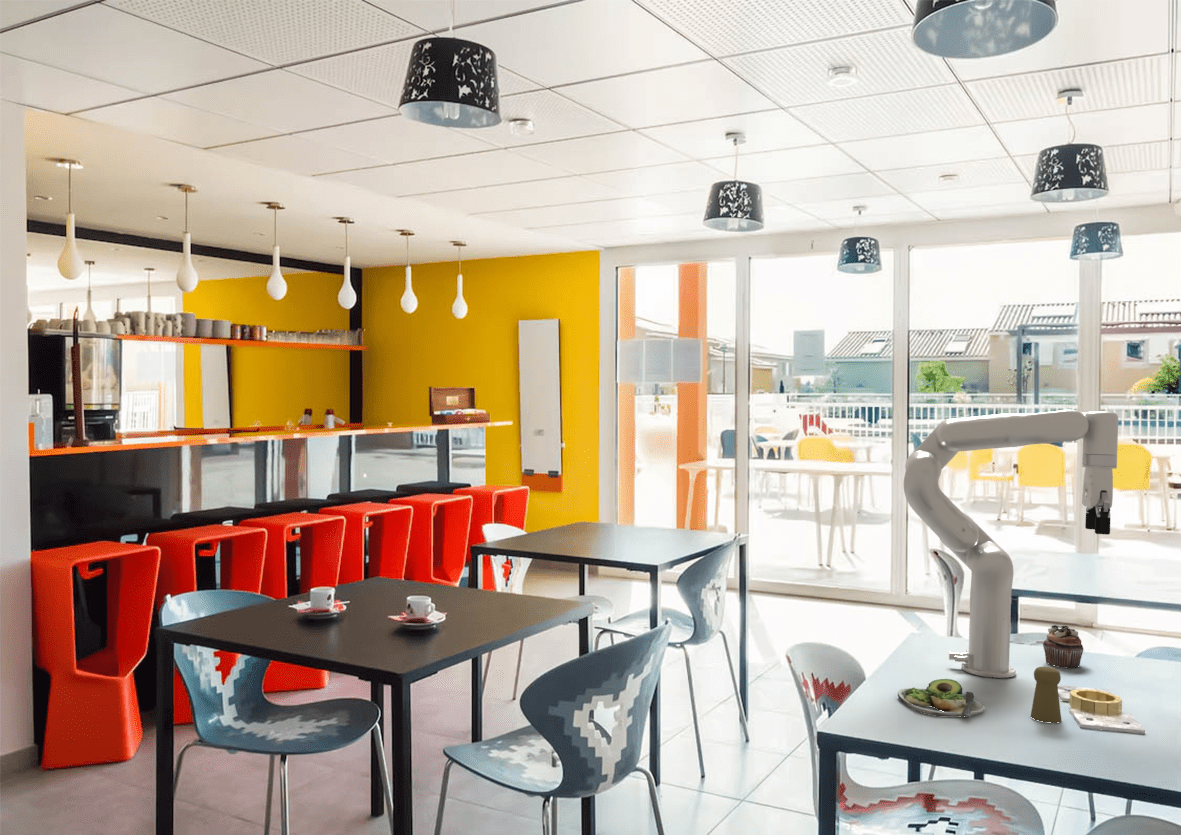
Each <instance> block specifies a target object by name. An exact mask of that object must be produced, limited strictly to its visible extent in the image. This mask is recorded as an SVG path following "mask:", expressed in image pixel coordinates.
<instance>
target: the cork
mask: <svg viewBox="0 0 1181 835" xmlns="http://www.w3.org/2000/svg"><path fill="white" fill-rule="evenodd" d="M1033 678H1034V680H1035V681H1036V683H1035V689H1034V693H1033V694H1034V695H1033V700H1032V705H1031V706H1032V707H1031V711H1030V712H1031V713H1030V718H1031V717H1032V718H1034V719H1035V720H1034V721H1036V720H1039V721H1043V722H1051V723H1056V724H1058V723H1057V722H1062V714H1061V706H1060V698H1059V694H1058V685H1060V683H1061V679H1062V678H1061V673H1060V671H1059V670H1058V669H1056V668H1054V667H1050V666H1038V667H1036V668H1035V669H1034V672H1033ZM1032 718H1031V719H1032ZM1039 721H1038V722H1039ZM1043 722H1042V723H1043ZM1051 723H1050V724H1051Z"/></svg>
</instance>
